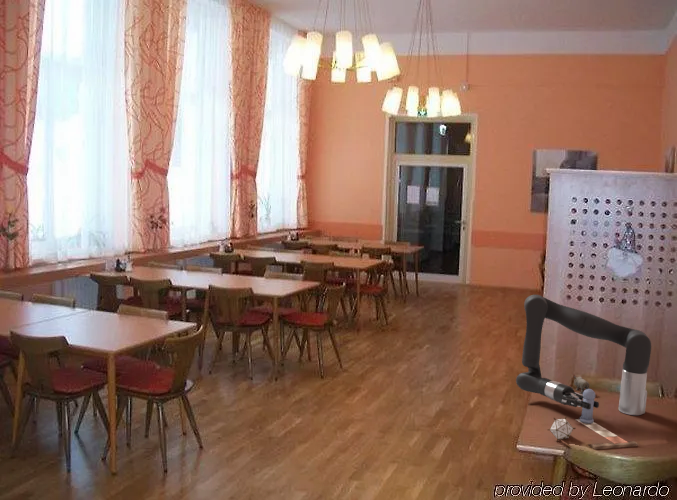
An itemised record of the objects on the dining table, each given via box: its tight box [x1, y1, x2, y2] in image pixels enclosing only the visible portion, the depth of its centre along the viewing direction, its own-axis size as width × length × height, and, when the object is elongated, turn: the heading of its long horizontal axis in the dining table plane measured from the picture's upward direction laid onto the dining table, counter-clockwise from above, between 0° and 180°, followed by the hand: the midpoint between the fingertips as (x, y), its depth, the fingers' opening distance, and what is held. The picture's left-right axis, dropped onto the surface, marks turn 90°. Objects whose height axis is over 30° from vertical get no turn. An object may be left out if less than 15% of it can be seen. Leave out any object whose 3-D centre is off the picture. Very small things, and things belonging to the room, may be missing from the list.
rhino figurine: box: [573, 375, 590, 395], centre depth 320 cm, size 4×14×6 cm, turn 3°
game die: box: [547, 416, 576, 442], centre depth 261 cm, size 9×8×10 cm
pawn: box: [579, 388, 596, 425], centre depth 277 cm, size 5×5×13 cm
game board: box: [575, 418, 639, 450], centre depth 268 cm, size 18×26×1 cm
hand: (594, 406), depth 274 cm, fingers closed on pawn, 4 cm apart
